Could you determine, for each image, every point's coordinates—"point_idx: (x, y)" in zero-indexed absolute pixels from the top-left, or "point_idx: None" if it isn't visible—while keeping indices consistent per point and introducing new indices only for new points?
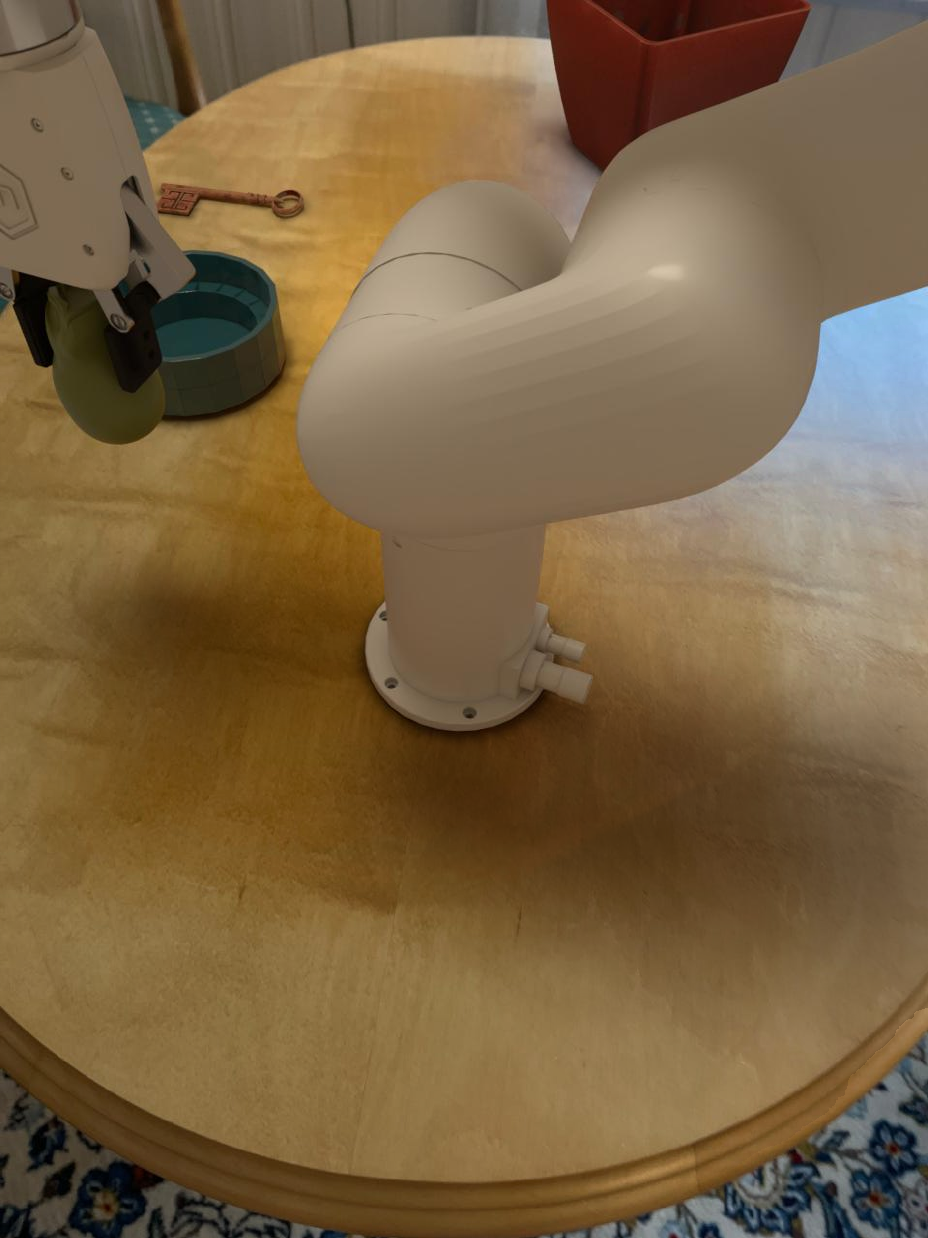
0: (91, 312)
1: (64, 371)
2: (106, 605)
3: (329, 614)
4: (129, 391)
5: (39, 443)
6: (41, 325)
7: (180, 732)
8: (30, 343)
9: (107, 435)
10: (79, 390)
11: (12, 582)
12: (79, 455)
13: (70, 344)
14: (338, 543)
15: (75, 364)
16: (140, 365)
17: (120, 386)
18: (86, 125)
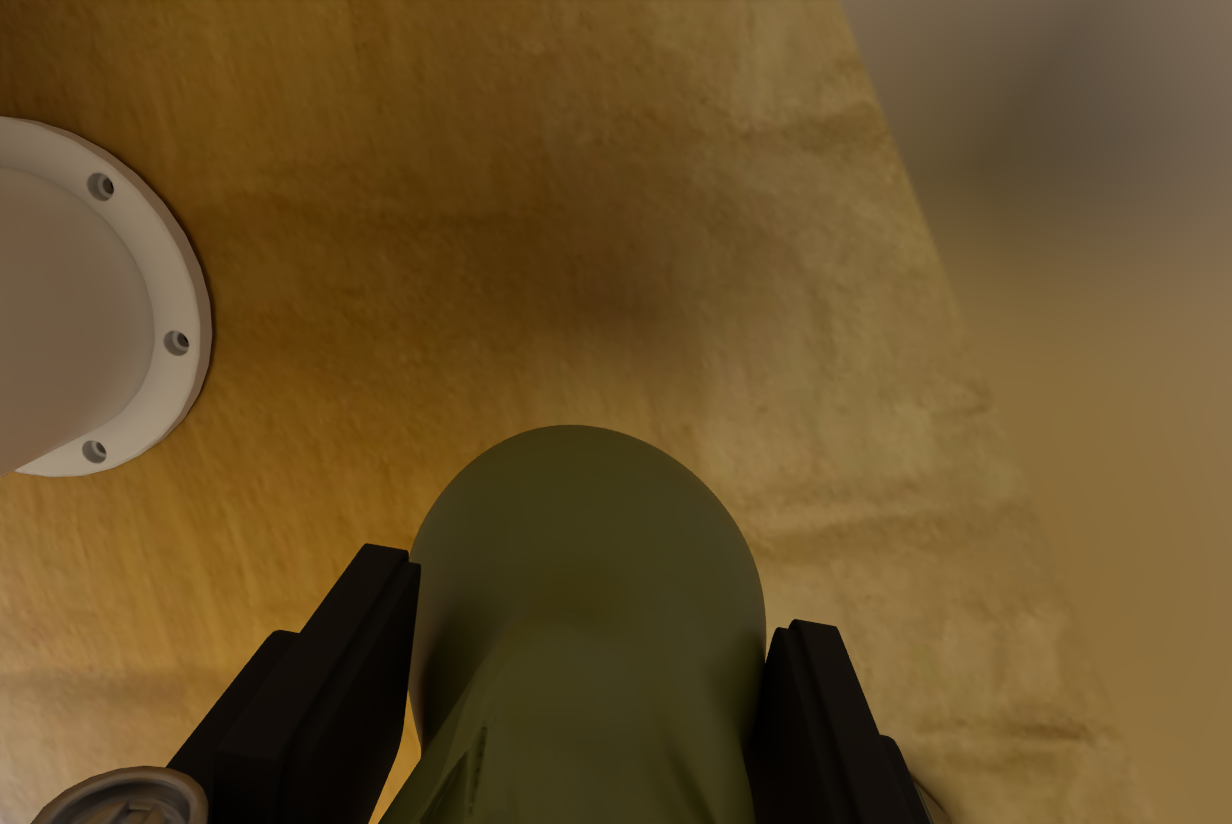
0: None
1: (646, 577)
2: (738, 277)
3: (308, 343)
4: (365, 543)
5: (1024, 641)
6: (800, 793)
7: (474, 3)
8: (841, 692)
9: (545, 428)
10: (591, 519)
11: (948, 295)
12: (932, 626)
13: (500, 656)
14: (357, 508)
15: (574, 604)
16: (280, 652)
17: (416, 563)
18: None
